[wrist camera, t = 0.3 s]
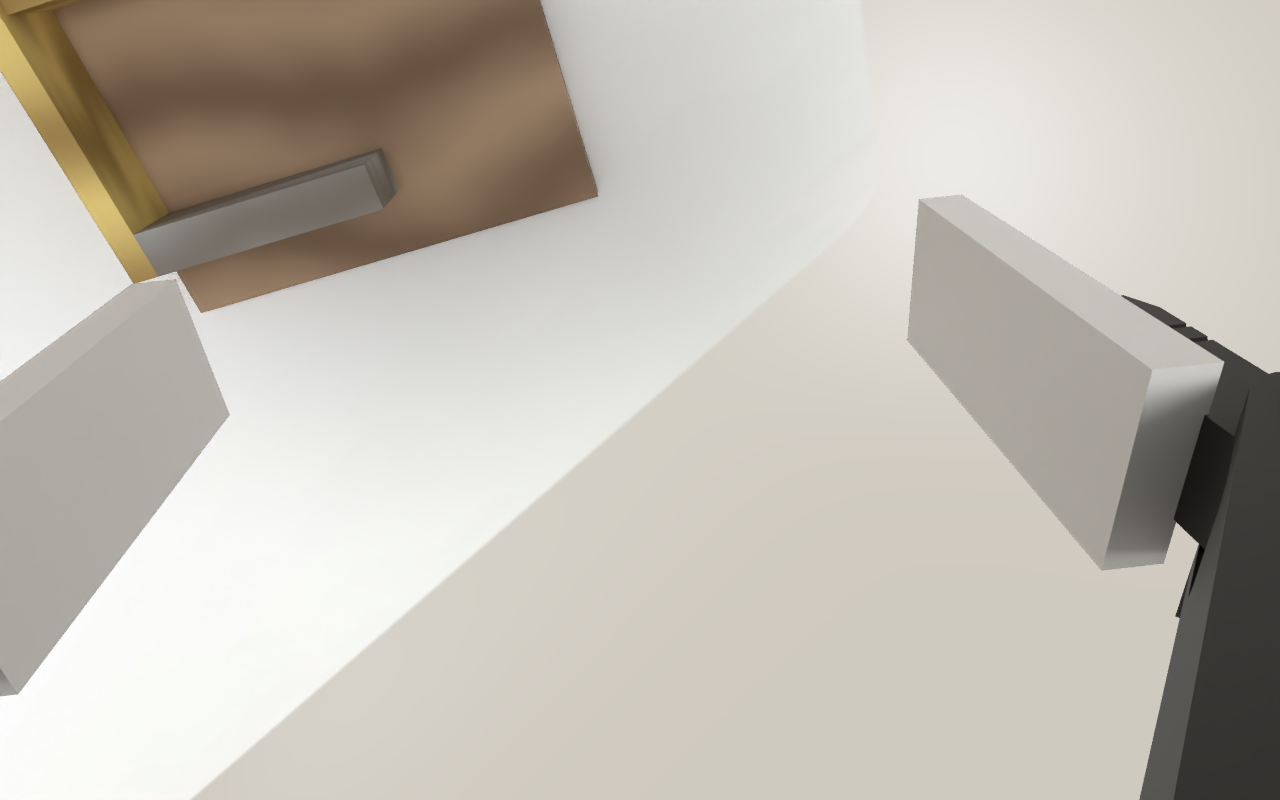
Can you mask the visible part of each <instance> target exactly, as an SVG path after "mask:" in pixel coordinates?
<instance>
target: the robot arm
mask: <svg viewBox="0 0 1280 800" xmlns="http://www.w3.org/2000/svg"><path fill="white" fill-rule="evenodd" d="M907 340H908V342H909V343H910V344H911V345H912V346H913V347H914V349H915V350H916V351H917V352H918V353H919V355H920V356H921V357H922V358H923V359H924V360H925V362H926V363H927V364H928V365H929V366H930V368H931V369H932V370H933V371H934V372H935V374H936V375H937V376H938V377H939V378H940V380H941V381H942V382H943V383H944V384H945V385H946V386H947V388H948V389H949V390H950V391H951V393H952V394H953V395H954V396H955V397H956V398H957V400H958V401H959V402H960V403H961V404H962V406H963V407H964V408H965V409H966V410H967V412H968V413H969V414H970V415H971V416H972V417H973V419H974V420H975V421H976V422H977V423H978V425H979V426H980V427H981V428H982V429H983V431H984V432H985V433H986V434H987V435H988V436H989V438H990V439H991V440H992V441H993V442H994V443H995V445H996V446H997V447H998V448H999V449H1000V451H1001V452H1002V453H1003V454H1004V455H1005V457H1006V458H1007V459H1008V460H1009V461H1010V463H1011V464H1012V465H1013V466H1014V467H1015V468H1016V470H1017V471H1018V472H1019V473H1020V474H1021V476H1022V477H1023V478H1024V479H1025V480H1026V482H1027V483H1028V484H1029V485H1030V486H1031V487H1032V489H1033V490H1034V491H1035V492H1036V493H1037V495H1038V496H1039V497H1040V498H1041V499H1042V500H1043V502H1044V503H1045V504H1046V505H1047V506H1048V508H1049V509H1050V510H1051V511H1052V512H1053V514H1054V515H1055V516H1056V517H1057V518H1058V519H1059V521H1060V522H1061V523H1062V524H1063V525H1064V527H1065V528H1066V529H1067V530H1068V531H1069V533H1070V534H1071V535H1072V536H1073V537H1074V538H1075V540H1076V541H1077V542H1078V543H1079V544H1080V546H1081V547H1082V548H1083V549H1084V550H1085V551H1086V553H1087V554H1088V555H1089V556H1090V557H1091V559H1092V560H1093V561H1094V562H1095V563H1096V564H1097V566H1098V567H1099V568H1100V569H1101V570H1110V569H1119V568H1127V567H1136V566H1145V565H1154V564H1162V563H1164V560H1165V557H1166V553H1167V550H1168V547H1169V544H1170V540H1171V537H1172V534H1173V530H1174V527H1175V524H1176V522H1177V523H1178V524H1179V525H1180V526H1181V527H1182V528H1183V529H1184V530H1185V531H1186V532H1187V533H1188V534H1189V535H1190V536H1192V537H1193V538H1194V539H1195V540H1196V541H1197V542H1198V543H1199V545H1198V548H1197V552H1196V555H1195V558H1194V561H1193V564H1192V567H1191V570H1190V573H1189V576H1188V579H1187V582H1186V585H1185V588H1184V592H1183V594H1182V597H1181V601H1180V604H1179V607H1178V610H1177V613H1176V617H1179V618H1180V621H1179V625H1178V629H1177V633H1176V638H1175V643H1174V647H1173V651H1172V656H1171V660H1170V665H1169V669H1168V674H1167V679H1166V683H1165V687H1164V692H1163V697H1162V701H1161V706H1160V710H1159V715H1158V719H1157V723H1156V728H1155V732H1154V737H1153V742H1152V746H1151V751H1150V755H1149V759H1148V764H1147V769H1146V773H1145V777H1144V782H1143V786H1142V791H1141V795H1140V800H1280V372H1274V373H1271V374H1268V373H1266V372H1264V371H1263V370H1261V369H1260V368H1258V367H1256V366H1255V365H1253V364H1251V363H1250V362H1248V361H1247V360H1245V359H1243V358H1242V357H1240V356H1238V355H1237V354H1235V353H1233V352H1232V351H1230V350H1228V349H1227V348H1225V347H1223V346H1222V345H1220V344H1219V343H1217V342H1215V341H1214V340H1208V339H1207V336H1206V335H1204V334H1203V333H1201V332H1199V331H1198V330H1196V329H1194V328H1193V327H1186V323H1185V322H1183V321H1181V320H1180V319H1178V318H1176V317H1175V316H1173V315H1171V314H1170V313H1168V312H1167V311H1165V310H1163V309H1162V308H1160V307H1157V306H1154V305H1151V304H1148V303H1145V302H1142V301H1139V300H1136V299H1133V298H1130V297H1127V296H1124V295H1122V296H1120V295H1118V294H1117V293H1115V292H1114V291H1112V290H1111V289H1109V288H1107V287H1106V286H1104V285H1103V284H1101V283H1100V282H1098V281H1096V280H1095V279H1093V278H1092V277H1090V276H1089V275H1087V274H1085V273H1084V272H1082V271H1080V270H1079V269H1078V268H1076V267H1074V266H1073V265H1071V264H1070V263H1068V262H1067V261H1065V260H1063V259H1062V258H1060V257H1059V256H1057V255H1056V254H1054V253H1052V252H1051V251H1049V250H1048V249H1046V248H1045V247H1043V246H1041V245H1040V244H1038V243H1037V242H1035V241H1034V240H1032V239H1030V238H1029V237H1027V236H1026V235H1024V234H1023V233H1021V232H1019V231H1018V230H1016V229H1015V228H1013V227H1012V226H1010V225H1008V224H1007V223H1005V222H1004V221H1002V220H1000V219H999V218H997V217H996V216H994V215H993V214H991V213H990V212H988V211H986V210H985V209H983V208H981V207H980V206H978V205H977V204H975V203H974V202H972V201H971V200H969V199H968V198H966V197H964V196H963V195H955V196H946V197H937V198H927V199H919V205H918V217H917V229H916V241H915V254H914V265H913V278H912V290H911V302H910V314H909V327H908V338H907ZM228 416H229V412H228V410H227V407H226V405H225V402H224V400H223V397H222V394H221V392H220V389H219V387H218V384H217V382H216V379H215V377H214V374H213V372H212V369H211V367H210V364H209V362H208V359H207V357H206V354H205V352H204V349H203V347H202V344H201V342H200V339H199V337H198V334H197V332H196V329H195V327H194V324H193V322H192V319H191V316H190V314H189V311H188V309H187V306H186V304H185V301H184V299H183V296H182V294H181V291H180V289H179V286H178V284H177V281H176V279H175V280H166V281H156V282H147V283H138V284H131V285H130V286H129V287H127V288H126V289H125V290H123V291H122V292H121V293H119V294H118V295H117V296H115V297H114V298H112V299H111V300H110V301H108V302H107V303H106V304H104V305H103V306H102V307H100V308H99V309H98V310H96V311H95V312H94V313H92V314H91V315H90V316H88V317H87V318H86V319H84V320H83V321H81V322H80V323H79V324H77V325H76V326H75V327H73V328H72V329H71V330H69V331H68V332H67V333H65V334H64V335H63V336H61V337H60V338H59V339H57V340H56V341H55V342H53V343H52V344H50V345H49V346H48V347H46V348H45V349H44V350H42V351H41V352H40V353H38V354H37V355H36V356H34V357H33V358H32V359H30V360H29V361H28V362H26V363H25V364H24V365H22V366H21V367H19V368H18V369H17V370H15V371H14V372H13V373H11V374H10V375H9V376H7V377H6V378H5V379H3V380H2V381H1V382H0V696H7V695H15V694H19V692H20V691H21V690H22V688H23V687H24V686H25V684H26V683H27V682H28V680H29V679H30V678H31V676H32V675H33V674H34V672H35V671H36V670H37V669H38V667H39V666H40V665H41V663H42V662H43V661H44V659H45V658H46V657H47V655H48V654H49V653H50V651H51V650H52V649H53V647H54V646H55V645H56V643H57V642H58V641H59V639H60V638H61V637H62V635H63V634H64V633H65V632H66V630H67V629H68V628H69V626H70V625H71V624H72V622H73V621H74V620H75V618H76V617H77V616H78V614H79V613H80V612H81V610H82V609H83V608H84V606H85V605H86V604H87V602H88V601H89V600H90V598H91V597H92V596H93V595H94V593H95V592H96V591H97V589H98V588H99V587H100V585H101V584H102V583H103V581H104V580H105V579H106V577H107V576H108V575H109V573H110V572H111V571H112V569H113V568H114V567H115V565H116V564H117V563H118V561H119V560H120V559H121V558H122V556H123V555H124V554H125V552H126V551H127V550H128V548H129V547H130V546H131V544H132V543H133V542H134V540H135V539H136V538H137V536H138V535H139V534H140V532H141V531H142V530H143V528H144V527H145V526H146V524H147V523H148V522H149V521H150V519H151V518H152V517H153V515H154V514H155V513H156V511H157V510H158V509H159V507H160V506H161V505H162V503H163V502H164V501H165V499H166V498H167V497H168V495H169V494H170V493H171V491H172V490H173V489H174V487H175V486H176V485H177V484H178V482H179V481H180V480H181V478H182V477H183V476H184V474H185V473H186V472H187V470H188V469H189V468H190V466H191V465H192V464H193V462H194V461H195V460H196V458H197V457H198V456H199V454H200V453H201V452H202V450H203V449H204V448H205V447H206V445H207V444H208V443H209V441H210V440H211V439H212V437H213V436H214V435H215V433H216V432H217V431H218V429H219V428H220V427H221V425H222V424H223V423H224V421H225V420H226V419H227V417H228Z"/></svg>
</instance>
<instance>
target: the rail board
mask: <svg viewBox="0 0 1280 800" xmlns="http://www.w3.org/2000/svg"><path fill="white" fill-rule="evenodd" d="M0 71H1V73H2V74H3V76H4V77H5V79H6V81H7V82H8V84H9V85H10V87H11V89H12V90H13V92H14V93H15V95H16V97H17V98H18V100H19V101H20V103H21V104H22V106H23V108H24V109H25V111H26V112H27V114H28V116H29V117H30V119H31V120H32V122H33V124H34V125H35V127H36V128H37V130H38V132H39V133H40V135H41V136H42V138H43V140H44V141H45V143H46V144H47V146H48V148H49V149H50V151H51V152H52V154H53V156H54V157H55V159H56V160H57V162H58V164H59V165H60V167H61V168H62V170H63V171H64V173H65V175H66V176H67V178H68V179H69V181H70V183H71V184H72V186H73V187H74V189H75V191H76V192H77V194H78V195H79V197H80V199H81V200H82V202H83V203H84V205H85V207H86V208H87V210H88V211H89V213H90V215H91V216H92V218H93V219H94V221H95V223H96V224H97V226H98V227H99V229H100V231H101V232H102V234H103V235H104V237H105V238H106V240H107V242H108V243H109V245H110V246H111V248H112V250H113V251H114V253H115V254H116V256H117V258H118V259H119V261H120V262H121V264H122V266H123V267H124V269H125V270H126V272H127V274H128V275H129V277H130V278H131V280H132V282H133V283H134V284H135V283H138V282H141V281H145V280H148V279H152V278H155V277H158V276H162V275H165V274H168V273H172V272H175V271H177V273H178V275H179V276H180V278H181V280H182V281H183V283H184V285H185V286H186V288H187V290H188V292H189V293H190V295H191V297H192V298H193V300H194V302H195V303H196V305H197V307H198V308H199V310H200V312H201V313H203V312H206V311H210V310H213V309H217V308H220V307H223V306H227V305H230V304H234V303H237V302H240V301H244V300H247V299H251V298H254V297H257V296H261V295H264V294H268V293H271V292H274V291H278V290H281V289H285V288H288V287H291V286H295V285H298V284H302V283H305V282H308V281H312V280H315V279H319V278H322V277H325V276H329V275H332V274H336V273H339V272H342V271H346V270H349V269H352V268H356V267H359V266H363V265H366V264H369V263H373V262H376V261H380V260H383V259H386V258H390V257H393V256H397V255H400V254H403V253H407V252H410V251H414V250H417V249H420V248H424V247H427V246H431V245H434V244H437V243H441V242H444V241H448V240H451V239H454V238H458V237H461V236H465V235H468V234H471V233H475V232H478V231H482V230H485V229H488V228H492V227H495V226H499V225H502V224H505V223H509V222H512V221H516V220H519V219H522V218H526V217H529V216H533V215H536V214H539V213H543V212H546V211H550V210H553V209H556V208H560V207H563V206H567V205H570V204H573V203H577V202H580V201H584V200H587V199H590V198H594V197H597V196H598V191H597V188H596V184H595V181H594V178H593V174H592V171H591V168H590V164H589V161H588V158H587V155H586V151H585V148H584V145H583V141H582V138H581V135H580V131H579V128H578V125H577V122H576V118H575V115H574V112H573V108H572V105H571V102H570V98H569V95H568V92H567V89H566V85H565V82H564V79H563V75H562V72H561V69H560V65H559V62H558V59H557V55H556V52H555V49H554V46H553V42H552V39H551V36H550V32H549V29H548V26H547V22H546V19H545V16H544V13H543V9H542V6H541V3H540V0H0Z"/></svg>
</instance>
